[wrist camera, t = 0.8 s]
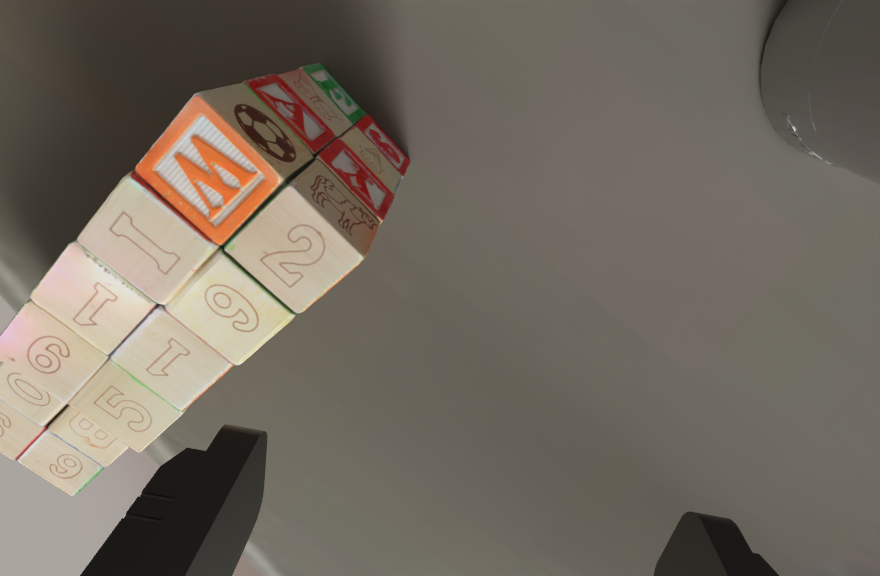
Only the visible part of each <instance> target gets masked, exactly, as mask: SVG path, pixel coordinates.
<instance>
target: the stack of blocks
mask: <svg viewBox="0 0 880 576" xmlns="http://www.w3.org/2000/svg"><path fill="white" fill-rule="evenodd" d="M409 164H410V160H409V159H408V158H407V157H406V156H405V154H404V153H403V152H402V151H401V150H400V149H399V148H398V147H397V146H396V144H395V143H394V142H393V141H392V140H391V139H390V138H389V137H388V136H387V135H386V133H385V132H384V131H383V130H382V129H381V128H380V127H379V126H378V125H377V124H376V123H375V122H374V120H373V119H372V118H371V117H370V116H369V115H367V114H366V113H365V112H364V111H363V110H362V109H361V108H360V106H359V105H358V104H357V103H356V102H355V101H354V100H353V99H352V98H351V96H350V95H349V94H348V93H347V92H346V91H345V90H344V89H343V87H342V86H341V85H340V84H339V83H338V82H337V81H336V80H335V79H334V77H333V76H332V75H331V74H330V73H329V72H328V71H327V70H326V68H325V67H324V66H323V65H322V64H321V63H317V64H312V65H307V66H301V67H300V68H298V69H297V70H294V71H289V72H284V73H282V74H279V75H276V74H269V75H265V76H262V77H255V78H253V79H248V80H245V81H243V82H242V83H240V84H235V85H230V86H224V87H219V88H215V89H211V90H206V91H201V92H198V93H195V94H194V95H193V96H192V97H191V99H190V100H189V101H188V102H187V103H186V104H185V106H184V107H183V108H182V109H181V111H180V112H179V113H178V115H177V116H176V117H175V118H174V120H173V121H172V122H171V123H170V125H169V126H168V127H167V128H166V130H165V131H164V132H163V133H162V135H161V136H160V137H159V138H158V139H157V141H156V142H155V143H154V144H153V145H152V147H151V148H150V149H149V151H148V152H147V153H146V154H145V155H144V157H143V158H142V159H141V160H140V161H139V163H138V164H137V166H136V168H135V170H134V171H132V172H130V173H128V174H127V175H125V176H124V177H123V178H122V179H121V181H120V182H119V183H118V185H117V186H116V187H115V188H114V190H113V191H112V192H111V193H110V195H109V196H108V198H107V199H106V200H105V202H104V203H103V204H102V205H101V207H100V208H99V209H98V211H97V212H96V213H95V214H94V216H93V217H92V218H91V220H90V221H89V222H88V224H87V225H86V226H85V228H84V229H83V230H82V232H81V233H80V234H79V236H78V238H76V239H74V240H73V241H72V242H70V243H69V244H68V245H67V247H66V248H65V249H64V250H63V252H62V253H61V254H60V255H59V257H58V258H57V260H56V261H55V263H54V264H53V265H52V266H51V268H50V269H49V270H48V271H47V273H46V274H45V275H44V277H43V278H42V279H41V281H40V282H39V283H38V285H37V286H36V287H35V289H34V290H33V291H32V293H31V295H30V298H31V299H30V300H29V301H27V302H26V303H25V304H24V305H23V306H22V307H21V309H20V310H19V311H18V313H17V314H16V315H15V317H14V318H13V319H12V321H11V322H10V323H9V325H8V326H7V327H6V328H5V330H4V331H3V332H2V333H1V335H0V361H1V362H0V452H1V453H3V454H4V455H5V456H7V457H9V458H11V459H13V460H18V461H19V462H20V463H21V464H22V465H24V466H25V467H27V468H29V469H30V470H32V471H33V472H35V473H36V474H38V475H40V476H41V477H43V478H44V479H46V480H47V481H49V482H51V483H52V484H54V485H55V486H57V487H58V488H60V489H62V490H63V491H65V492H66V493H68V494H69V495H71V496H74V495H76V494H77V493H78V492H79V491H80V490H81V489H82V488H83V487H84V486H86V484H87V483H89V482H90V481H91V480H92V479H93V478H94V477H95V476H97V474H99V472H100V471H101V470H102V469H103V468H104V467H107V466H109V465H110V464H111V463H112V462H113V461H114V460H116V459H117V458H118V457H119V456H120V455H121V454H122V453H123V452H124V451H125V450H126V449H128V448H129V447H130V448H131V449H133V450H134V451H136V452H141V451H142V450H143V449H144V448H146V447H147V446H148V445H149V444H150V443H151V442H152V441H153V440H154V439H156V438H157V437H158V436H159V435H160V434H161V433H162V432H163V431H164V430H165V429H167V428H168V427H169V426H170V425H171V424H172V423H173V422H174V421H175V420H177V419H178V418H179V417H180V416H181V415H182V414H183V413H184V412H185V411H186V409H187V408H188V406H189V405H190V404H191V403H192V402H194V401H195V400H196V399H197V398H198V397H199V396H200V395H201V394H203V393H204V392H205V391H206V390H207V389H208V388H209V387H210V386H211V385H213V384H214V383H215V382H216V381H217V380H218V379H219V378H221V377H222V376H223V375H224V374H225V373H226V372H227V371H228V370H229V369H230V368H231V367H232V366H234V365H240V364H241V363H243V362H244V361H245V360H246V359H247V358H249V357H250V356H251V355H252V354H253V353H254V352H256V351H257V350H258V349H259V348H260V347H261V346H262V345H263V344H264V343H266V342H267V341H268V340H269V339H270V338H271V337H273V336H274V335H275V334H276V333H277V332H278V331H280V330H281V329H282V328H283V327H284V326H285V325H287V324H288V323H289V322H290V321H291V320H292V319H293V318H294V317H295V315H296V314H297V313H301V312H304V311H305V310H306V309H307V308H308V307H309V306H310V305H312V304H313V303H314V302H315V301H316V300H318V299H319V298H320V297H321V296H322V295H324V294H325V293H326V292H327V291H328V290H330V289H331V288H332V287H333V286H334V285H335V284H337V283H338V282H339V281H340V280H341V279H343V278H344V277H345V276H346V275H347V274H348V273H350V272H351V271H352V270H353V269H354V268H355V267H357V266H358V265H359V264H360V263H361V262H362V260H363V259H364V258H365V257H366V255H367V253H368V251H369V249H370V246H371V243H372V241H373V240H374V238H375V235H376V233H377V231H378V228H379V225H380V224H381V223H382V222H383V220H384V219H385V217H386V215H387V213H388V211H389V208H390V206H391V204H392V201H393V199H394V194H395V192H396V189H397V187H398V185H399V183H400V181H401V180H402V178H403V177H404V175H405V172H406V169H407V168H408V166H409Z"/></svg>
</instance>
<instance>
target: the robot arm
mask: <svg viewBox="0 0 880 576" xmlns="http://www.w3.org/2000/svg"><path fill="white" fill-rule="evenodd" d="M761 95H762V99H763V103H764V107H765V111H766V114H767V115H768V117H769V119H770V121H771V123H772V124H773V126H774V128H775V130H776V131H777V132H778V133H779V134H780V135H781V136H782V137H783V138H784V139H785V140H786V141H787V142H788V143H789V144H791V145H793V146H795V147H796V148H798V149H800V150H802V151H803V152H805V153H807V154H810V155H812V156H814V157H815V158H817V159H820V160H822V161H823V162H826V163H828V164H831V165H833V166H835V167H838V168H842V169H845V170H848V171H850V172H853V173H855V174H857V175H859V176H861V177H864V178H866V179H869V180H871V181H873V182H876V183H878V184H880V0H787V1H786V3H785V5H784V6H783V8H782V10H781V11H780V13H779V15H778V16H777V18H776V20H775V22H774V25H773V27H772V30H771V32H770V35H769V37H768V40H767V42H766V45H765V49H764V54H763V60H762V65H761ZM266 450H267V433H266V432H265V431H260V430H255V429H249V428H244V427H238V426H233V425H228V424H226V425H224V426H223V427H222V428H221V429H220V431H219V432H218V434H217V435H216V437H215V438H214V440H213V441H212V443H211V444H210V446H209V447H208V449H207V450H206V451H202V450H197V449H191V448H186V449H185V450H183V451H182V452H180V453H179V454H178V455H176V456H175V457H173V458H172V459H170V460H169V461H168V462H166V463H165V464H163V465H162V466H160V468H159V469H158V470H157V472H156V473H155V474H154V476H153V477H152V479H151V480H150V481H149V483H148V484H147V485H146V487H145V488H144V489H143V491H142V494H141V496H140V497H137V499H136V500H135V502H134V503H133V505H132V506H131V507H130V508H129V510H128V511H127V513H126V516H125V518H122V519H121V521H120V522H119V523H118V525H117V526H116V527H115V529H114V530H113V532H112V533H111V534H110V536H109V537H108V538H107V540H106V541H105V543H104V544H103V545H102V547H101V548H100V549H99V551H98V552H97V553H96V555H95V556H94V557H93V559H92V560H91V562H90V563H89V565H88V566H87V567H86V568H85V570H84V571H83V572H82V574H81V575H80V576H232V575H233V572H234V570H235V568H236V565H237V563H238V561H239V559H240V557H241V554H242V552H243V550H244V548H245V546H246V543H247V541H248V539H249V537H250V534H251V532H252V530H253V528H254V525H255V523H256V520H257V517H258V514H259V511H260V507H261V503H262V498H263V492H264V479H265V464H266ZM654 576H779V575H778V574H777V573H776V572H775V571H774V570H773V568H772V567H771V566H770V565H769V564H768V563H767V562H766V561H765V560H764V559H763V558H762V557H761V556H760V555H759V554H756V553H752V551H751V549H750V548H749V546H748V544H747V542H746V540H745V539H744V537H743V535H742V533H741V531H740V530H739V528H738V526H737V525H736V524H735V523H734V522H733V521H732V520H730V519H728V518H722V517H717V516H711V515H706V514H701V513H695V512H687V513H685V514H684V515H683V516H682V518H681V519H680V521H679V523H678V525H677V527H676V528H675V530H674V532H673V534H672V536H671V538H670V540H669V542H668V543H667V545H666V547H665V549H664V551H663V553H662V555H661V557H660V558H659V560H658V562H657V565H656V568H655V572H654Z"/></svg>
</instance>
